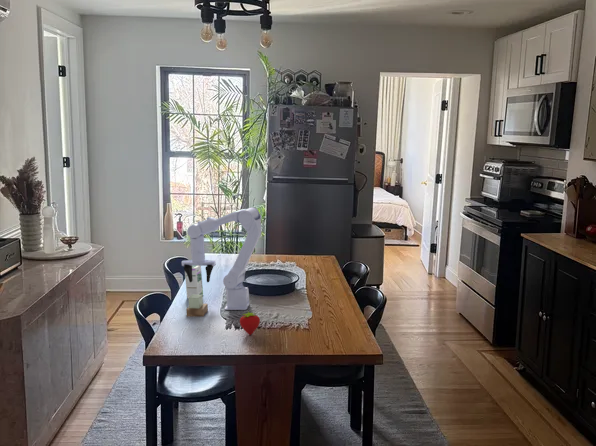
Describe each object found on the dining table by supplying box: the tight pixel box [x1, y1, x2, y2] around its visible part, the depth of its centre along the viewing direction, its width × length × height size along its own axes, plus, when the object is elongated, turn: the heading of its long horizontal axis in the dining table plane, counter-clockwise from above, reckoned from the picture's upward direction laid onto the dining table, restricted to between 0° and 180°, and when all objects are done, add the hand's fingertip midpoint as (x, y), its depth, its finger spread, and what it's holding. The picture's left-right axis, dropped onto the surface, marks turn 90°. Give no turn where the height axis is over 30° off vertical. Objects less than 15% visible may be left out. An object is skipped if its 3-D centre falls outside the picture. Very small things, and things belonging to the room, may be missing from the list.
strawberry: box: [239, 311, 261, 336], centre depth 190 cm, size 6×8×10 cm
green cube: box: [188, 294, 204, 308], centre depth 214 cm, size 4×4×4 cm
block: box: [185, 303, 209, 318], centre depth 215 cm, size 7×7×4 cm
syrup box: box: [184, 266, 204, 298], centre depth 236 cm, size 6×6×14 cm
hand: (199, 281), depth 224 cm, fingers open, 7 cm apart
